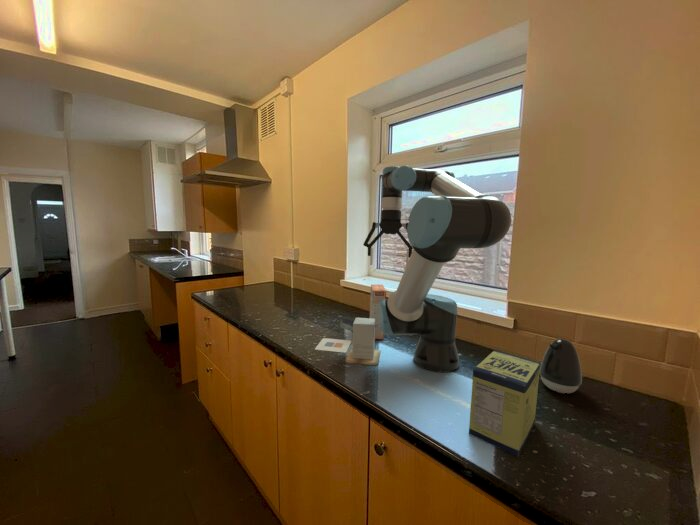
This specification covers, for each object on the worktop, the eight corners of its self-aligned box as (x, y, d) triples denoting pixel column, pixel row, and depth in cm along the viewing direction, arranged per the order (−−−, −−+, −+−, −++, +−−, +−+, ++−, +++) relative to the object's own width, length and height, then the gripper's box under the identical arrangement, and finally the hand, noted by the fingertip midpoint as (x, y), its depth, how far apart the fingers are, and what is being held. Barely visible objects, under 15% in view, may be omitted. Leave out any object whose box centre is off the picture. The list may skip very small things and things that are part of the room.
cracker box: (384, 340, 124) (386, 290, 122) (370, 339, 124) (371, 290, 122) (382, 328, 138) (383, 284, 136) (368, 328, 138) (370, 283, 136)
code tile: (351, 341, 122) (351, 340, 122) (345, 352, 110) (345, 352, 110) (323, 338, 124) (323, 338, 124) (314, 349, 112) (314, 349, 112)
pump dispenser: (529, 383, 91) (534, 335, 90) (553, 378, 95) (558, 331, 93) (563, 401, 82) (569, 347, 80) (588, 394, 86) (594, 343, 84)
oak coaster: (380, 352, 111) (380, 350, 111) (377, 365, 101) (378, 363, 100) (351, 349, 113) (351, 347, 113) (345, 362, 103) (345, 359, 102)
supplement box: (374, 351, 110) (375, 318, 108) (373, 360, 103) (374, 324, 101) (354, 350, 111) (355, 316, 110) (351, 358, 104) (352, 323, 102)
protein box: (535, 423, 72) (541, 361, 71) (519, 458, 61) (526, 386, 59) (489, 405, 79) (494, 348, 77) (467, 434, 68) (472, 368, 66)
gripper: (424, 210, 115) (421, 265, 117) (360, 209, 119) (358, 262, 121) (425, 209, 107) (422, 268, 110) (357, 208, 112) (355, 265, 114)
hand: (389, 265), depth 116 cm, fingers open, 13 cm apart
